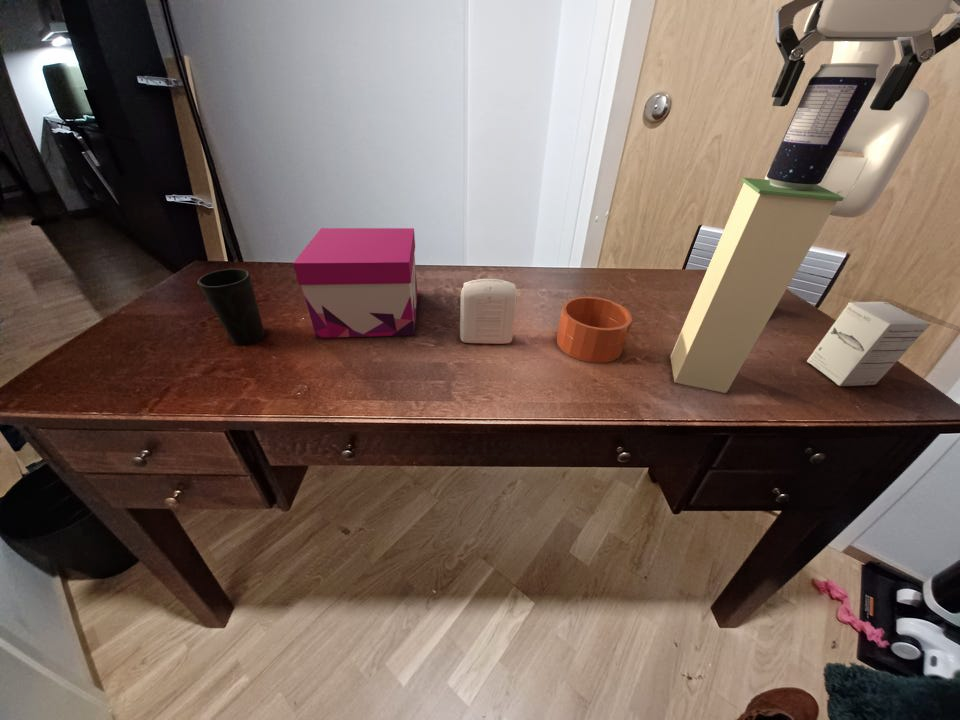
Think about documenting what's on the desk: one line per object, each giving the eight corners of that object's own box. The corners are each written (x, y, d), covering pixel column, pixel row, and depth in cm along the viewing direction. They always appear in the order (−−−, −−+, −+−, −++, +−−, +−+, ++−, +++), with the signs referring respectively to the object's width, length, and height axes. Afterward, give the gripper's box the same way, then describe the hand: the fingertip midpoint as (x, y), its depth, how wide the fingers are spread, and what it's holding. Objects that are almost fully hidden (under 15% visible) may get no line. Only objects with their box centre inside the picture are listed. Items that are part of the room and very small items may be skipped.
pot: (600, 324, 77) (608, 293, 73) (635, 357, 68) (646, 325, 63) (546, 330, 74) (551, 300, 70) (575, 367, 65) (582, 333, 61)
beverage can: (826, 193, 43) (898, 63, 36) (774, 189, 44) (834, 62, 37) (802, 183, 48) (862, 66, 41) (755, 180, 49) (806, 65, 42)
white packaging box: (804, 361, 68) (846, 300, 61) (840, 360, 69) (886, 300, 61) (838, 387, 62) (890, 323, 55) (877, 386, 63) (934, 323, 55)
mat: (813, 186, 49) (815, 183, 48) (842, 201, 42) (844, 197, 42) (741, 180, 51) (742, 177, 50) (758, 193, 44) (759, 190, 44)
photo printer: (511, 333, 73) (517, 275, 66) (513, 345, 70) (520, 285, 62) (460, 333, 73) (460, 274, 65) (460, 345, 69) (459, 284, 62)
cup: (279, 330, 71) (259, 272, 64) (248, 351, 65) (221, 290, 58) (248, 323, 73) (225, 265, 66) (215, 342, 67) (186, 282, 60)
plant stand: (717, 365, 66) (811, 187, 48) (726, 393, 60) (838, 200, 42) (670, 356, 68) (744, 181, 50) (674, 382, 62) (760, 193, 44)
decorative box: (415, 336, 71) (408, 262, 62) (314, 339, 69) (292, 263, 60) (418, 292, 86) (413, 228, 77) (335, 294, 84) (321, 228, 75)
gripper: (1043, -126, 32) (902, 110, 42) (812, -108, 36) (735, 104, 46) (1133, -175, 26) (945, 113, 36) (847, -147, 30) (750, 105, 40)
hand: (827, 107), depth 41 cm, fingers open, 9 cm apart
